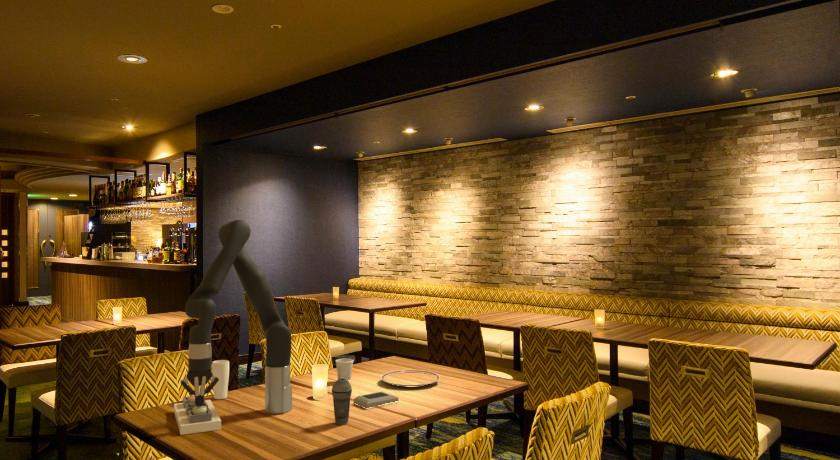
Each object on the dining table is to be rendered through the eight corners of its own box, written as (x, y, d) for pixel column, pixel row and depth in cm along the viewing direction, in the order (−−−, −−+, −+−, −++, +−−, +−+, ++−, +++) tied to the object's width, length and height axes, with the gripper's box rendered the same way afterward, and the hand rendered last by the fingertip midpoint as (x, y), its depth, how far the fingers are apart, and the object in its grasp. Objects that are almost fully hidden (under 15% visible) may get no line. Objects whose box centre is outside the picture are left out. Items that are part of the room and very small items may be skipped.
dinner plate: (441, 390, 255) (441, 383, 256) (378, 390, 256) (378, 382, 256) (439, 376, 283) (439, 369, 283) (383, 376, 283) (383, 369, 283)
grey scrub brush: (398, 394, 235) (366, 401, 226) (398, 404, 235) (366, 410, 226) (384, 390, 243) (353, 395, 234) (384, 399, 243) (353, 405, 233)
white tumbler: (223, 400, 238) (223, 363, 238) (208, 399, 239) (208, 362, 240) (232, 396, 245) (232, 360, 245) (217, 395, 246) (217, 359, 246)
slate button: (189, 406, 213) (189, 399, 213) (202, 405, 215) (202, 398, 215) (190, 410, 209) (190, 403, 209) (204, 408, 211) (204, 401, 211)
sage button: (191, 414, 204) (192, 406, 204) (205, 412, 206) (205, 405, 206) (193, 417, 200) (193, 410, 200) (207, 415, 202) (207, 408, 202)
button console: (174, 411, 222) (174, 397, 223) (210, 407, 228) (210, 393, 228) (180, 435, 196) (180, 418, 196) (221, 429, 201) (221, 413, 201)
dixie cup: (346, 379, 276) (346, 357, 276) (357, 382, 270) (357, 360, 270) (331, 381, 271) (331, 360, 271) (342, 385, 264) (342, 362, 265)
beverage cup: (343, 427, 204) (343, 369, 204) (327, 423, 208) (327, 367, 208) (356, 422, 210) (356, 365, 211) (340, 418, 214) (340, 363, 214)
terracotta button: (186, 403, 222) (186, 397, 222) (199, 402, 224) (199, 395, 224) (187, 406, 218) (187, 399, 218) (200, 405, 220) (201, 398, 220)
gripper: (218, 352, 210) (217, 401, 210) (178, 355, 204) (177, 405, 204) (221, 356, 203) (220, 406, 203) (180, 359, 197) (179, 411, 197)
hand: (199, 406), depth 203 cm, fingers closed
